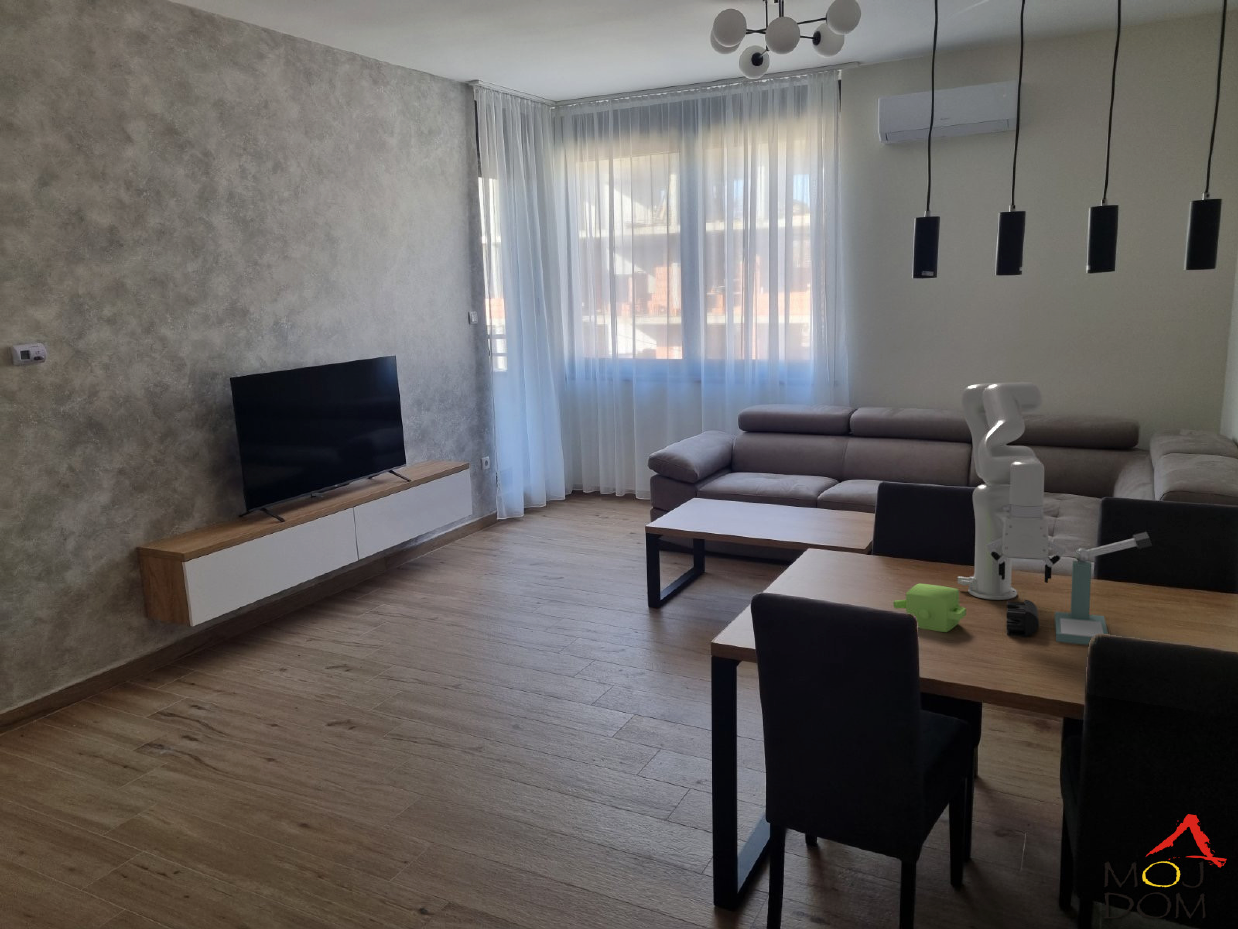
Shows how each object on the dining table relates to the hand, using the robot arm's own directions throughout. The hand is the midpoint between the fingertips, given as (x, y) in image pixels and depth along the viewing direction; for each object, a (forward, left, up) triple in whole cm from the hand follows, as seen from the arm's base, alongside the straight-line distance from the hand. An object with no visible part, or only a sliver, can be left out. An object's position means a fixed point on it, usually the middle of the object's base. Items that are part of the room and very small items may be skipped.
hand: (1024, 579), depth 216 cm
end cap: (0, +1, -14) cm, 14 cm away
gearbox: (-22, -2, -14) cm, 26 cm away
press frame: (+13, +4, -13) cm, 19 cm away
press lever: (+20, +10, +6) cm, 23 cm away
